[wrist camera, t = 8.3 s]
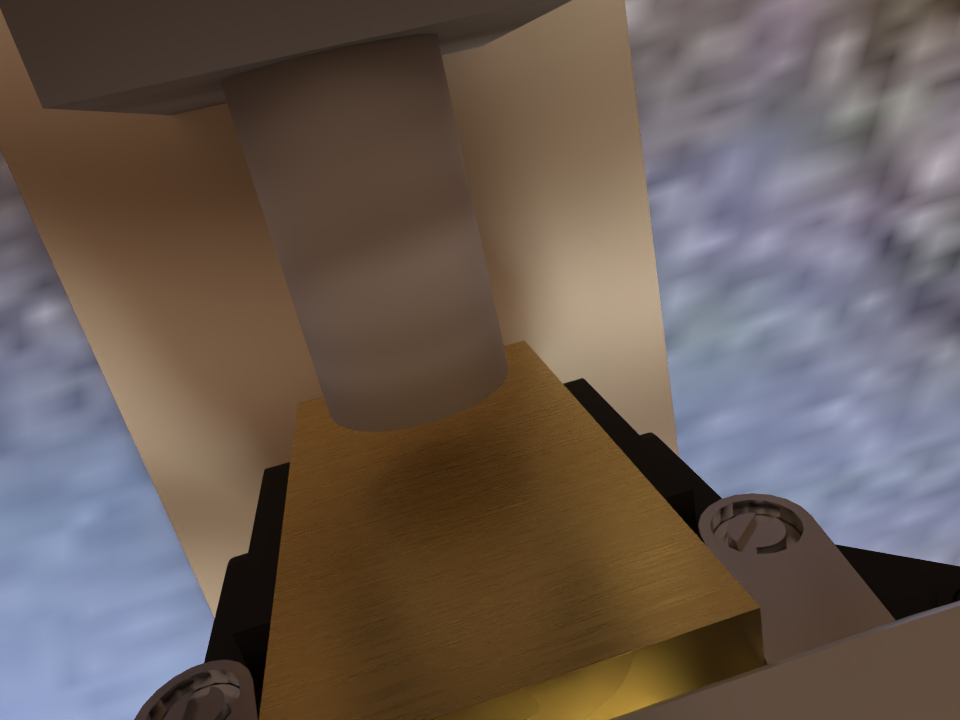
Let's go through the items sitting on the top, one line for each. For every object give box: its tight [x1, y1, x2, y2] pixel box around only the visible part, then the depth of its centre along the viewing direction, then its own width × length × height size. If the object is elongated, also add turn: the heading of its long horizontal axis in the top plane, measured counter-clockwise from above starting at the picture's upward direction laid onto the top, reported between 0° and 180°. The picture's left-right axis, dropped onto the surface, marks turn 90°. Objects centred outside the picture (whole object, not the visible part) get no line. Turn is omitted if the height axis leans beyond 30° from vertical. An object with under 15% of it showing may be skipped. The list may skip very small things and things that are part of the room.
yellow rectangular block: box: [259, 340, 765, 720], centre depth 9 cm, size 4×4×7 cm
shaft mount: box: [0, 0, 679, 618], centre depth 12 cm, size 23×10×6 cm, turn 12°
